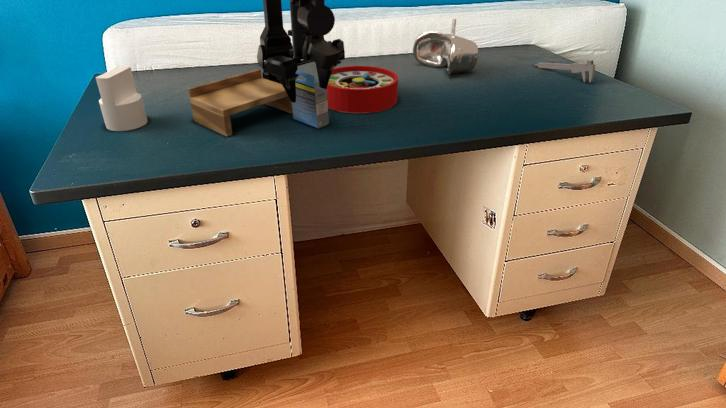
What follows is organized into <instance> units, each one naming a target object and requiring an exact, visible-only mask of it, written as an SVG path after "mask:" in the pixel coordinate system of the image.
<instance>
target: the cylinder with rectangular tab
mask: <svg viewBox="0 0 726 408" xmlns="http://www.w3.org/2000/svg"><path fill="white" fill-rule="evenodd" d="M95 81H96V85H97V88H98V92H99V95H100V98H99V99H98V105H99V107H100V112H101V114H102V115H101V116H102V118H103V122H104V125H105V128H106V129H107V130H108V131H111V132H112V131H113V132H127V131H132V130H136V129H137V130H138V129H139V128H142V127H144V126H146V124H148V121H149V120H148V116H147V112H146V108H145V104H144V100H143V96H142V94H141V93H139V92H138V91H137V88H136V83H135V79H134V75H133V71H132V67H131V66H127V65H124V66H123V65H122V66H121V65H120V66H119V65H118V66H116V67H114V68H112V69H110V70H107V71H106V72H104V73H102V74H100V75H98V76H96V77H95Z"/></svg>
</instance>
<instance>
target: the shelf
mask: <svg viewBox="0 0 726 408" xmlns="http://www.w3.org/2000/svg"><path fill="white" fill-rule="evenodd" d="M187 90H188V91H187V92H188V97H189V103H190V108H191V115H192V120H193V122H194V123H196V124H199V125H201V126H202V127H205V128H207V129H210V130H212V131H213V132H216V133H217V134H221V135H222V136H224V137H230V136H232V135H233V129H232V122H231V115H235V114H238V113H241V112H243V111H247V110H250V109H253V108H255V107H259V106H262V105H267V106H269V107H273V108H275V109H278V110H280V111H283V112H286V113H288V114H293V111H292V102H291V100H290V98H289V96H288V95H287V93H286V91H285V89H284V87H283V86H282V84H279V83H276V82H273V81H270V80H267V79H264V78H263V75H262V70H261V68H260V69H259V68H257V69H254V70H250V71H247V72H246V71H245V72H243V73H239V74H236V75H232V76H229V77H225V78H221V79H217V80H213V81H210V82H206V83H202V84H199V85H195V86H192V87H188V88H187Z"/></svg>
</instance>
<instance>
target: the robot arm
mask: <svg viewBox="0 0 726 408" xmlns="http://www.w3.org/2000/svg"><path fill="white" fill-rule="evenodd" d="M262 4H263V5H262V7H263V18H264V28H263V29H262V31H261V34H260V35H259V45H258V49H257V53H256V60H257V61H256V62H257V65H258V66H259V67H260V69H262V72H261V75H262V78H264V79H267V80H270V81H273V82H276V83H279V84H282V86H283V87H284V89H285V91H286V93H287V95H288V96H289V98H290V100H291V102H293V103H295V102H296V84H295V80H296V79H297V78H298V77H300V76H299V74H295V73H296V71H297V70H298V67H299V66H304V65H307V64H309V63H315V69H316V75H317V79H318V84H319V87H320V88H323V89H327V86H328V82H329V79H330V76H331V73H332V71H333V69H334V68H337V66H338V65H340V64H341V63H342V61H343V60H345V58H346V50H345V43H344V41H343V40H342V39H341V38H337V39H334V40H332V41H331V40H325V36H326V35H328V34H329V33H330V32H332V31H333V29H334V26H335V23H336V17H335V14H334V12H333V10H332V9H331V8H330V7H329V6H327V5H326V3H325V0H289V11H290V13H289V14H290V29H287V31H286V30H285V28H284V19H283V6H282V5H283V4H282V0H262ZM298 71H299V70H298Z"/></svg>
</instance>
